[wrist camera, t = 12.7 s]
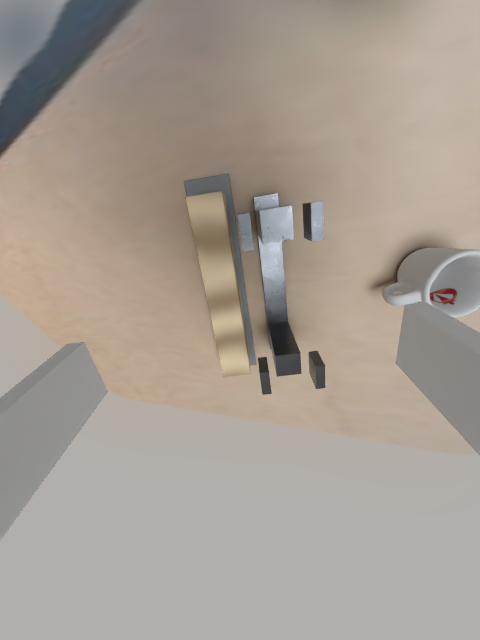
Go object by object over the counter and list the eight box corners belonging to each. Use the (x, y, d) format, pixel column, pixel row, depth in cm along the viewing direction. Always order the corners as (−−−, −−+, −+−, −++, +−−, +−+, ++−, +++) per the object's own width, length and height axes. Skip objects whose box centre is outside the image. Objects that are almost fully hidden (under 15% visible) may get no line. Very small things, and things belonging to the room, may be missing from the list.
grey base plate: (184, 181, 31) (183, 181, 31) (228, 174, 31) (228, 173, 30) (223, 367, 42) (223, 368, 42) (255, 363, 42) (256, 364, 41)
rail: (193, 198, 31) (185, 197, 27) (224, 193, 31) (221, 191, 26) (225, 358, 41) (223, 377, 36) (249, 355, 41) (250, 373, 36)
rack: (237, 200, 32) (234, 194, 20) (292, 190, 31) (323, 179, 19) (257, 347, 41) (264, 404, 29) (301, 342, 40) (325, 398, 28)
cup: (374, 311, 38) (405, 336, 30) (363, 263, 35) (395, 278, 28) (449, 284, 36) (502, 304, 29) (444, 231, 33) (501, 237, 26)
